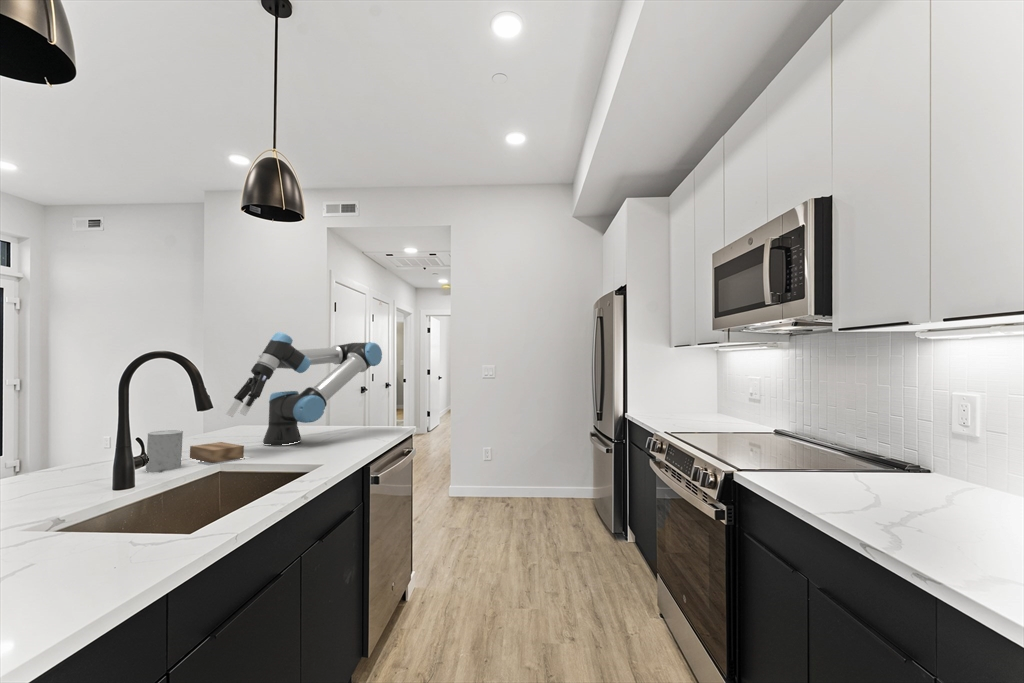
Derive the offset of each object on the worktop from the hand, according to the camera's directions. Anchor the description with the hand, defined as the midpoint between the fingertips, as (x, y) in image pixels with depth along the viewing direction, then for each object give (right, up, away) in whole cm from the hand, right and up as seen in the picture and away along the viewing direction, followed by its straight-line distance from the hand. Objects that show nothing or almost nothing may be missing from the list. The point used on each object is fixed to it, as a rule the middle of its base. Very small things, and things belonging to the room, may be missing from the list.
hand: (235, 414), depth 174 cm
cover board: (-4, -15, -4) cm, 17 cm away
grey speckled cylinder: (-11, -15, -21) cm, 28 cm away
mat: (-4, -16, -4) cm, 17 cm away
